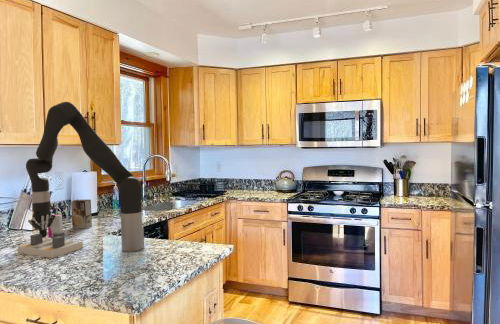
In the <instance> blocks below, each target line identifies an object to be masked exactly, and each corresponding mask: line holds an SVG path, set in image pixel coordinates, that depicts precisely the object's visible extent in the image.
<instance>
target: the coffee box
mask: <svg viewBox="0 0 500 324" xmlns="http://www.w3.org/2000/svg"><path fill="white" fill-rule="evenodd" d="M70 205H71V223H72V224H71V225H72V227H71V228H72V229H89V228H91V227H93V223H92V222H93V221H92V220H93V219H92V200H91V199H74V200H71V201H70Z"/></svg>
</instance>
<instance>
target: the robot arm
mask: <svg viewBox="0 0 500 324" xmlns="http://www.w3.org/2000/svg"><path fill="white" fill-rule="evenodd" d="M67 125H70V126H71V127H72V128H73V129H74V131H75V132H76V133H77V135H78V137H79V140H80V144H81V147H82V150H83V152H84V154H86V156H87V157H88V158H89V159H90V160H91V161H92V162H93V163H94V164H95V165H96V166H97V167H98V168H100V170H102V171H103V172H105V173H106V174H107V175H108V176H109V177H111V178H112V180H113V181H114V183H115V184H116V185H117V187H118V188H119V192H118V193H119V207H120V209H119V210H120V231H121V232H120V233H121V236H120V237H121V251H122V252H125V253H126V252H127V253H132V252H138V251H141V250H142V249H144V248H145V235H144V234H145V229H144V226H143V214H142V213H143V208H142V207H143V204H142V184H141V181H140V180H139V179H138V178H137V177H136V176H135V175H133V174H132V173H131V172H130V171H129V170H128V169H127V168H126V167H125V166H124V165H123V164H122V162H121V161H120V159H119V158H118V157H117V156H116V154H115V152H114V151H113V150H112V149H111V148H110V147H109V145H108V144H107V143H106V142H105V141H104V140H103V139H102V138H101V137H100V136H99V134H98V133H96V131H95V130H94V129H93V128H92V126H91V125H90V123H88V121H87V120H86V119H85V117H84V116H83V114H82V113H81V112H80V111H79V109H78V108H77V107H76V106H75V104H73V103H71V102H69V101H62V102H60V103H57V104H55V105H53V106H51V107H50V108H49V109H48V111H47V114H46V119H45V124H44V130H43V132H42V133H43V134H42V137H41V139H40V142H39V145H38V146H37V149H36V151H35V156H36V158H35V157H34V158H29V159H28V160H27V161H26V163H25V169H26V172H27V175H28V177H29V181H30V183H31V205H32V206H31V209H32V210H31V211H32V212H33V214H32V218H31V219H28V221H27V222H28V223H29V224H30V225H31V227H33V229H34V230H38V231H39V232H38V234H42V239H44V238H47V235H48V227H50V226H51V224H52V222H53V221H54V219H55V217H56V216H55V215H56V214H52V211H51V209H52V207H51V206H52V205H51V204H52V203H51V194H50V183H49V179H48V178H45V177H40V176H39V174H43V173H44V174H47V173H49V172H51V171H52V169H53V160H54V155H55V153H56V151H57V148H58V144H59V141H58V137H59V134H60V132H61V131H62V129H63V128H64V127H65V126H67Z"/></svg>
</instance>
